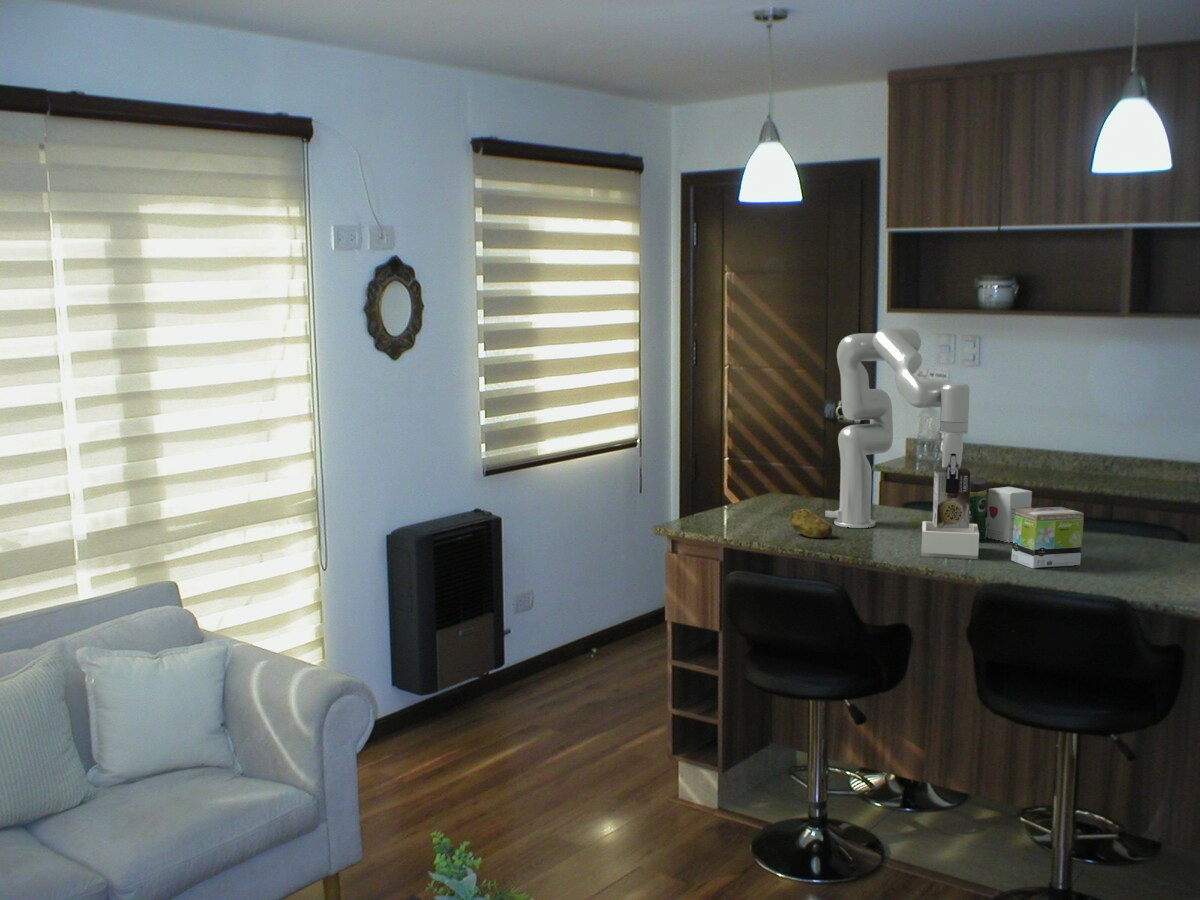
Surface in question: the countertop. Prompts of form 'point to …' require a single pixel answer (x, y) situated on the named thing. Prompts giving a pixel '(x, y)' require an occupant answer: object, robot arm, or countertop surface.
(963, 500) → the coffee box
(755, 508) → the countertop surface
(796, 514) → the potato
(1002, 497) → the supplement box
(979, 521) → the coffee jar
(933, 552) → the tote
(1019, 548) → the tea box
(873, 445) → the robot arm
